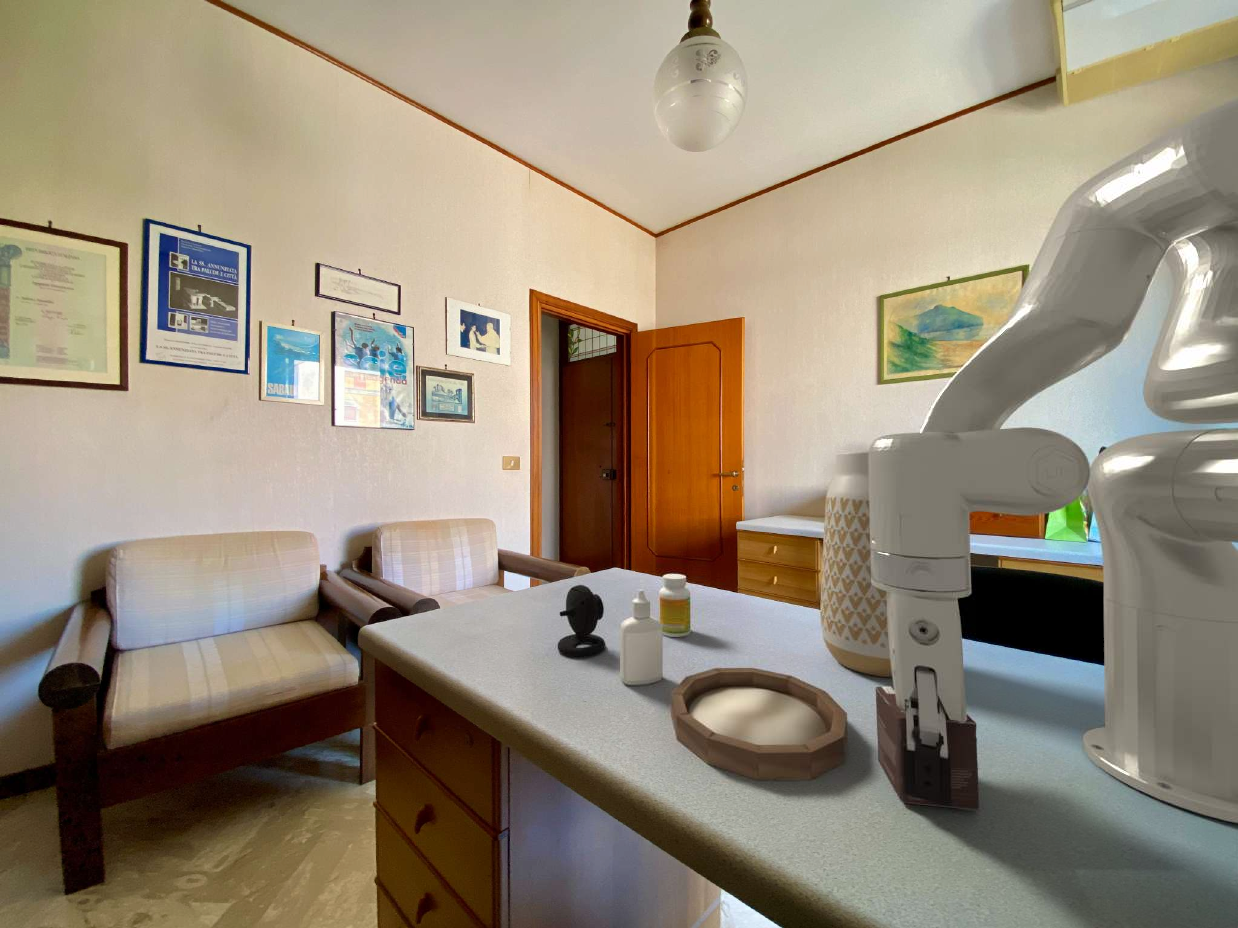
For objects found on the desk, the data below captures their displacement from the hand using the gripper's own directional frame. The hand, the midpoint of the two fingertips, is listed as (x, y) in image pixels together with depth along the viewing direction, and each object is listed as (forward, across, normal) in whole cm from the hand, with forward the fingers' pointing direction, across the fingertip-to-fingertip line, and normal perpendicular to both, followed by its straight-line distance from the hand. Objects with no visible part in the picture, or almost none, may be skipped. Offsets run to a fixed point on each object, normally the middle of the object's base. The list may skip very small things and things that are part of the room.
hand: (923, 768), depth 42 cm
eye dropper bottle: (+1, +7, +31) cm, 32 cm away
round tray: (+1, +3, +15) cm, 16 cm away
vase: (+2, +28, +4) cm, 28 cm away
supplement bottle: (+2, +26, +34) cm, 43 cm away
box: (+2, 0, 0) cm, 2 cm away
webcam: (+1, +12, +44) cm, 46 cm away
